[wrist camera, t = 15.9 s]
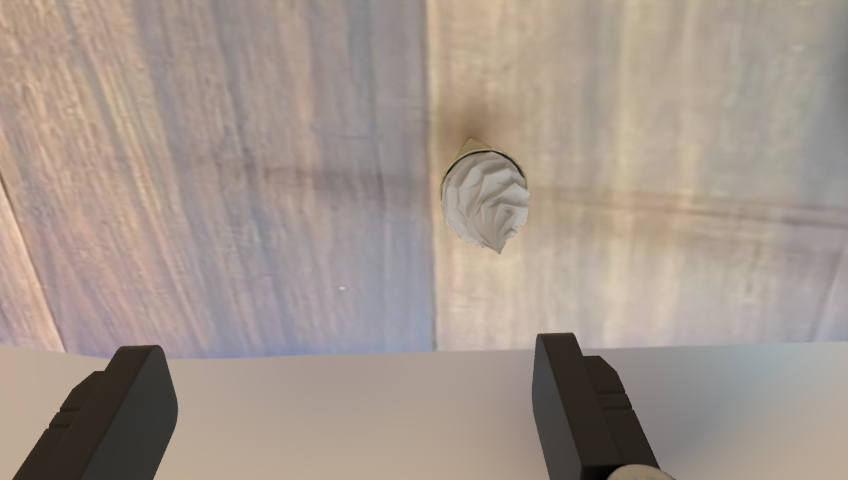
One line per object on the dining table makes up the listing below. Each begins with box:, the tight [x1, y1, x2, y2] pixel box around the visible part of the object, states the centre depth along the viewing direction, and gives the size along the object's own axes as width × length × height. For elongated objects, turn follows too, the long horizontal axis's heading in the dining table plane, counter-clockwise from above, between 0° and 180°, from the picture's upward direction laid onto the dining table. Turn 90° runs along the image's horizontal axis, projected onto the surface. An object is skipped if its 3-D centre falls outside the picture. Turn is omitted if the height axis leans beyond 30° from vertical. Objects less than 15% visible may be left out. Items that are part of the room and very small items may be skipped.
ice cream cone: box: [440, 138, 530, 254], centre depth 36 cm, size 5×5×15 cm
